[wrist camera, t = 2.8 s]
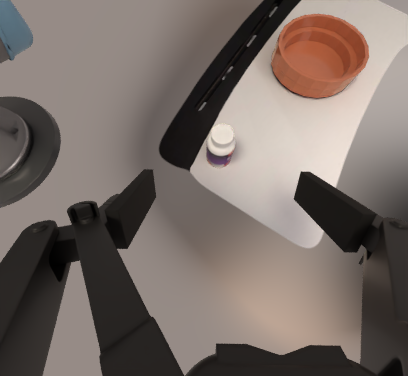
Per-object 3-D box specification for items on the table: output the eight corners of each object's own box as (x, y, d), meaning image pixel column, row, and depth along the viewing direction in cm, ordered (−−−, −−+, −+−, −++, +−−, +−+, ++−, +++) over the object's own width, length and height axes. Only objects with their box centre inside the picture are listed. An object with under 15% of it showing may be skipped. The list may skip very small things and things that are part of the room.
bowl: (258, 80, 38) (265, 60, 33) (287, 27, 41) (297, 3, 37) (335, 112, 36) (353, 95, 31) (359, 53, 39) (379, 31, 35)
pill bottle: (229, 169, 33) (238, 149, 25) (205, 167, 33) (205, 146, 25) (231, 147, 34) (239, 120, 26) (207, 145, 34) (208, 118, 26)
